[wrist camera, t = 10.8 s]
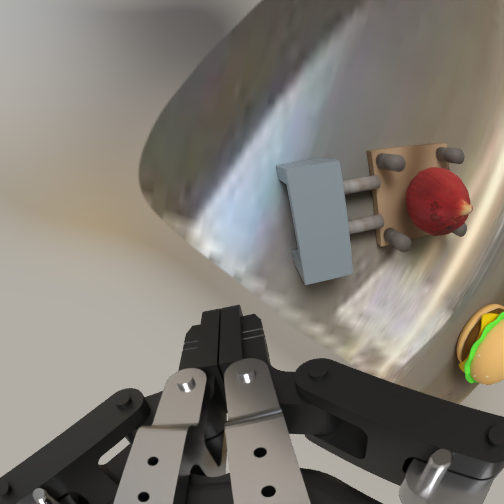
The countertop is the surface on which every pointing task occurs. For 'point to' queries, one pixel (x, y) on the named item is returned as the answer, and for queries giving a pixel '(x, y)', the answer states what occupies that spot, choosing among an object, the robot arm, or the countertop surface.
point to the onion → (437, 201)
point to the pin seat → (397, 190)
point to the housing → (318, 218)
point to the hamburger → (483, 346)
